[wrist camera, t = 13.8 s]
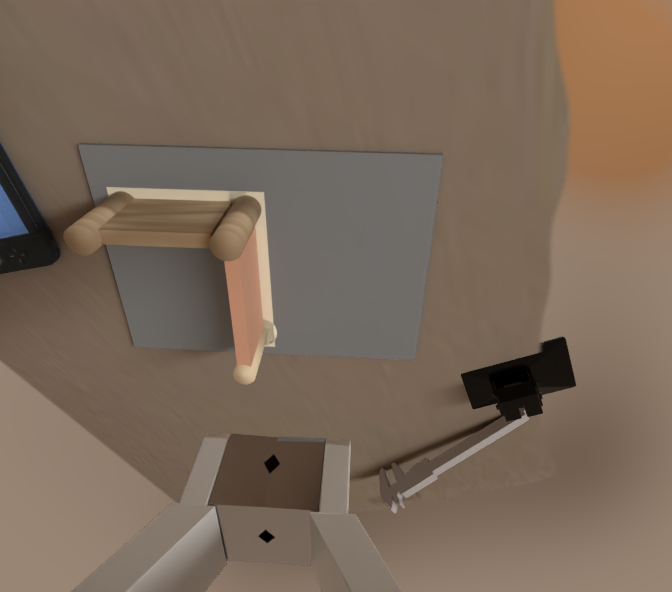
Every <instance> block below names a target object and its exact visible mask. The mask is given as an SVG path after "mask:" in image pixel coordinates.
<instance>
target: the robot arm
mask: <svg viewBox="0 0 672 592" xmlns="http://www.w3.org/2000/svg"><path fill="white" fill-rule="evenodd" d="M350 451H351V443H350V440H335V439H326V438H301V437H266V436H254V435H242V434H227V433H212V432H208V433H207V434H206V436H205V437H204V438H203V440H202V443H201V446H200V448H199V451H198V453H197V456H196V459H195V461H194V464H193V467H192V469H191V472H190V475H189V477H188V480H187V483H186V485H185V488H184V490H183V493H182V496H181V498H180V501H179V504H178V503H171V504H170V505H169V506H168V507H166V508H165V509H164V510H163V511H162V512H161V513H160V514H158V515H157V516H156V517H155V518H154V519H153V520H152V521H150V522H149V523H148V524H147V525H146V526H145V527H144V528H143V529H142V530H140V531H139V532H138V533H137V534H136V535H135V536H133V537H132V538H131V539H130V540H129V541H128V542H127V543H125V544H124V545H123V546H122V547H121V548H120V549H119V550H117V551H116V552H115V553H114V554H113V555H112V556H111V557H109V558H108V559H107V560H106V561H105V562H104V563H103V564H102V565H100V566H99V567H98V568H97V569H96V570H95V571H94V572H93V573H91V574H90V575H89V576H88V577H87V578H86V579H84V580H83V581H82V582H81V583H80V584H79V585H78V586H77V587H75V588H74V589H73V590H72V591H71V592H205V591H206V590H207V589H208V587H209V586H210V585H211V584H212V582H213V581H214V579H216V577H217V576H218V575H219V573H220V572H221V571H222V570H223V568H224V567H225V566H226V564H227V561H243V562H269V563H270V562H271V563H281V564H291V565H301V566H312V570H313V573H314V575H315V578H316V580H317V583H318V585H319V587H320V590H321V592H402V591H401V589H400V587H399V585H398V584H397V582H396V580H395V579H394V577H393V576H392V574H391V572H390V571H389V569H388V567H387V566H386V564H385V562H384V561H383V559H382V557H381V556H380V554H379V552H378V551H377V549H376V547H375V546H374V544H373V542H372V541H371V539H370V537H369V536H368V534H367V533H366V531H365V529H364V527H363V526H362V524H361V522H360V521H359V519H358V518H357V516H356V515H355V514H348V506H349V478H350Z"/></svg>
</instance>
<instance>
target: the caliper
mask: <svg viewBox="0 0 672 592" xmlns="http://www.w3.org/2000/svg"><path fill="white" fill-rule="evenodd" d="M519 411H520V414H521V417H522V418H521V419H517V420H513V421H509V422H506V419H505V416H502V417H501V418H499V419H498V420H496V421H494V422H493V423H491V424H490V425H488V426H486V427H485V428H483V429H482V430H480V431H478V432H477V433H475V434H473V435H472V436H470V437H469V438H467V439H465V440H464V441H462V442H461V443H459V444H457V445H456V446H454V447H452V448H451V449H449V450H447V451H446V452H444V453H443V454H441V455H439V456H438V457H436V458H434V459H433V460H431V461H429V460H428V459H427V458H424V459H423V460H422V461H421V462H420V463H417V464H415V465H414V466H413V467H412V468H411V469H410V470H409V472H407V473H406V474H405V473H404V472H403V471H402V469H401V468H400V467H399V466H398V465H397V464H396V463H395V462H394V463H392V464H391V465H392V470H393V473H394V476H395V479H396V481H397V482H396V483H394V484H393V485H391V483H390V480H389V477H388V474H387V471H386V470H385V469H383V468H381V469H380V471H379V480H380V492H381V496H382V499H383V502H384V504H385V505H386V506H387V507H389V508H390V509H391V510H392V511H393V512H394V513H396V512H397V503H398V504H399V505H400V506H401V507H403V508H405V507H404V504H403V501H402V497H403V496H404V497H405V498H408V497H409V496H411V495H412V494H414V493H416V492H417V491H419V490H421V489H422V488H424V487H425V486H427V485H429V484H430V483H432V482H433V481H435V480H437V475H439V474H441V473H442V472H444V471H446V470H447V469H449V468H451V467H452V466H454V465H456V464H457V463H459V462H460V461H462V460H464V459H465V458H467V457H469V456H470V455H472V454H474V453H475V452H477V451H479V450H480V449H482V448H484V447H485V446H487V445H489V444H490V443H492V442H494V441H495V440H497V439H498V438H500V437H502V436H503V435H505V434H507V433H508V432H510V431H512V430H513V429H515V428H516V427H518V426H520V425H521V424H523V423H525V422H526V421H528V420H529V418H528V417H527V415H526V412H525V408H519Z"/></svg>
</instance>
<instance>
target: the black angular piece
mask: <svg viewBox="0 0 672 592" xmlns="http://www.w3.org/2000/svg"><path fill="white" fill-rule="evenodd" d="M461 377H462V380H463V383H464V386H465V388H466V391H467V394H468V397H469V400H470V403H471V406H472V408H473V409H477V408H481V407H485V406H488V405H492V404H496V403H497V404H498V405H496V408H497V410H500V413H501V415H502V416H503V415H504V416H505V419H506V422H509V421H513V420H517V419H521V418H522V417H521V414H520V411H519V408H522V407H524V408H525V412H526V415H527V417H530V416H534V415H538V414H542V413H543V411H542V407H541V406H543V404H542V401H541V399H542V395H544V394H549V393H553V392H557V391H561V390H564V389H568V388H572V387H575V386H576V382H575V377H574V373H573V368H572V364H571V360H570V355H569V351H568V346H567V342H566V339H565V337H563V336H561V337H558V338H554V339H551V340H547V341H543V342H541V343H540V353H537V354H534V355H530V356H526V357H522V358H519V359H515V360H511V361H507V362H504V363H500V364H496V365H492V366H489V367H485V368H481V369H478V370H474V371H470V372H466V373H463V374H461Z"/></svg>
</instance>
